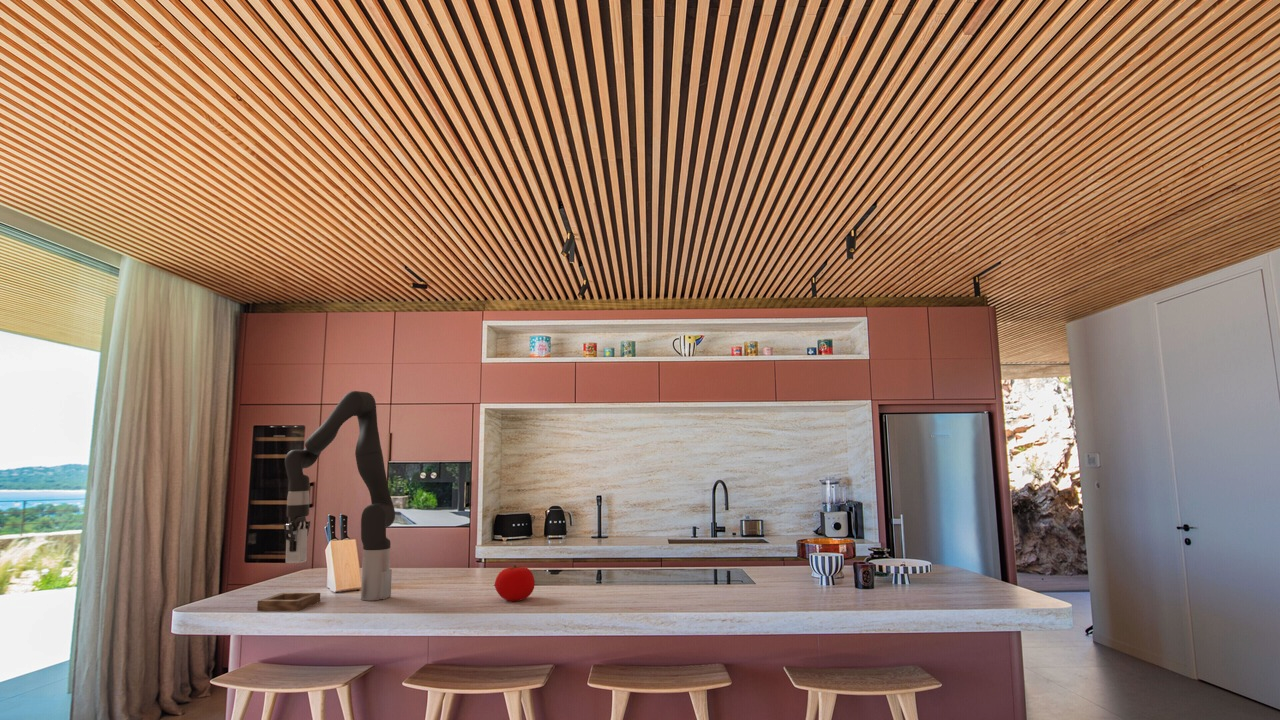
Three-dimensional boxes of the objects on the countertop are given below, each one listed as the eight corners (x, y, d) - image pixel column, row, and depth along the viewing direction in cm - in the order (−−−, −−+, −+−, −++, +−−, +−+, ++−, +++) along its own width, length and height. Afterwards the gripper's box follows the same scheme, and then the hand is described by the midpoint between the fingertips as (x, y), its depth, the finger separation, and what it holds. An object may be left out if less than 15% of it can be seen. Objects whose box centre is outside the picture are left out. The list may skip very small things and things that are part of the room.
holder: (320, 601, 245) (320, 592, 246) (297, 610, 231) (298, 601, 232) (281, 601, 246) (282, 592, 247) (257, 610, 232) (257, 600, 233)
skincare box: (307, 561, 261) (308, 528, 262) (300, 563, 256) (301, 529, 258) (291, 561, 261) (292, 528, 263) (284, 563, 257) (285, 530, 259)
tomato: (529, 603, 238) (529, 568, 240) (490, 603, 240) (490, 568, 241) (539, 596, 251) (539, 562, 252) (501, 595, 253) (502, 562, 254)
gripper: (297, 504, 254) (295, 553, 252) (318, 502, 268) (316, 548, 266) (277, 505, 255) (275, 553, 253) (299, 502, 269) (297, 548, 267)
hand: (296, 550), depth 259 cm, fingers closed on skincare box, 4 cm apart
